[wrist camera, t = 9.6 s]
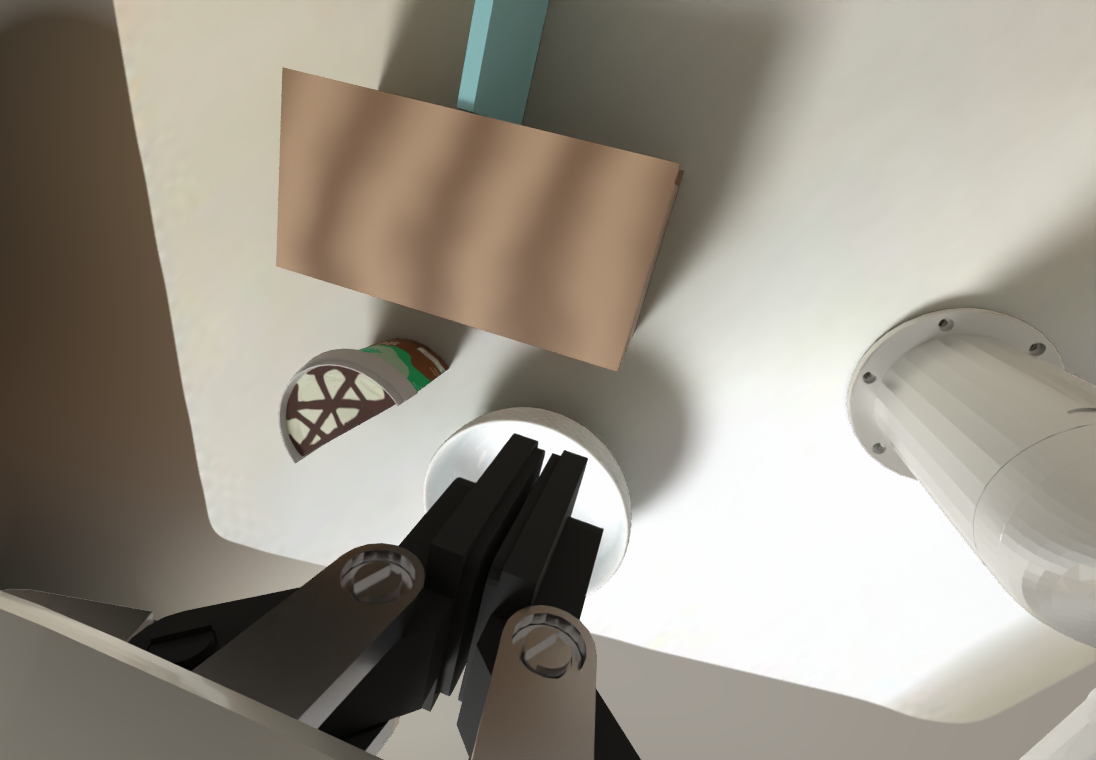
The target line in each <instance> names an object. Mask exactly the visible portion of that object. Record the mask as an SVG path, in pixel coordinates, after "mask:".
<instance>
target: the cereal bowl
mask: <svg viewBox="0 0 1096 760" xmlns="http://www.w3.org/2000/svg"><path fill="white" fill-rule="evenodd" d="M514 433H516V434H519V435H522V436H525V437H528V438H531V439H534V440H537V441H538V448H540V449H543V450H545V456H544V460H543V464H542V468H541V472H540V474H541V473H542V471H543V469H544V467H545V465H546V464H547V462H548V460H549V458H550V456H551V454H552V453H554V454H557V455H560V456H561V454H562V452H563V451H564V450H566V451H569V452H572V453H575V454H578V455H581V456H584V457H587V458H588V461H587V465H586V468H585V472H584V475H583V478H582V482H581V485H580V488H579V492H578V495H577V498H576V502H575V505H574V508H573V512H572V515H571V517H572V518H575V519H578V520H581V521H583V522H586V523H589V524H592V525H595V526H597V527H600V528H603V529H604V531H603V535H602V538H601V542H600V546H599V549H598V553H597V557H596V560H595V564H594V568H593V572H592V575H591V579H590V583H589V586H588V590H587V594H586V596H588V595H590V594H592V593H593V592H595V591H596V590H598V589H599V588H601V587H602V586H603V585H604V584H605V583H606V582H607V581H608V580H609V579H610V578H611V577H612V576H613V575H614V574H615V572H616V571H617V569H618V568H619V566H620V564H621V562H622V560H623V558H624V556H625V553H626V549H627V546H628V543H629V537H630V528H631V519H632V517H631V516H632V513H631V509H632V508H631V503H630V501H631V500H630V495H629V489H628V487H627V484H626V480H625V477H624V475H623V473H622V470H621V469H620V466H619V465H618V463H617V461H616V459H615V458H614V457H613V455H612V454H611V452H610V451H609V450H608V449H607V448H606V446H605V445H604V444H603V443H602V442H601V440H599V439H598V438H597V436H596V435H594V434H593V433H592V432H591V431H589V430H588V429H587V428H585V427H584V426H582V425H580V424H579V423H578V422H576V421H573V420H572V419H570V418H568V417H566V416H563V415H561V414H558V413H556V412H552V411H549V410H545V409H539V408H532V407H514V408H512V407H510V408H507V409H500V410H497V411H493V412H490V413H487V414H485V415H483V416H480V417H478V418H476V419H474V420H473V421H471V422H469V423H468V424H466V425H464V426H463V427H462V428H461V429H459V430H457V431H456V432H455V433H454V434H453V435H452V436H450V437H449V438H448V439H447V440H446V441H445V442H444V443H443V444H442V445H441V446H440V447H439V449H438V450H437V451H436V453H435V454H434V456H433V458H432V459H431V461H430V464H429V466H428V469H427V472H426V476H425V480H424V489H423V498H424V509H425V514H426V513H427V512H428V510H429V509H430V508H431V507H432V506H433V504H434V503H435V502H436V501H437V500H438V499H439V497H440V496H441V495H442V494H443V493H444V491H445V490H446V489H447V488H448V487H449V485H450V484H451V483H452V482H453V481H454V480H455V479H456V478H457V477H461V478H464V479H467V480H469V481H472V482H475V483H476V482H477V481H478V479H479V478H480V477H481V476H482V474H483V473H484V472H485V470H486V469H487V468H488V466H489V465H490V464H491V462H492V461H493V460H494V458H495V457H496V456H497V454H498V453H499V452H500V450H501V449H502V448H503V446H504V445H505V444H506V443H507V441H508V440H509V439H510V437H511V436H512V435H513V434H514Z"/></svg>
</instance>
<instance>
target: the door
mask: <svg viewBox="0 0 1096 760" xmlns="http://www.w3.org/2000/svg"><path fill="white" fill-rule="evenodd" d="M548 3H549V0H475V5H474V10H473V16H472V22H471V27H470V33H469V39H468V44H467V50H466V56H465V62H464V67H463V73H462V79H461V84H460V90H459V96H458V102H457V108H460V109H462V110H465V111H468V112H471V113H473V114H477V115H481V116H485V117H489V118H493V119H498V120H502V121H506V122H510V123H514V124H518V125H522V120H523V116H524V111H525V107H526V102H527V98H528V93H529V89H530V84H531V80H532V75H533V71H534V66H535V62H536V57H537V52H538V48H539V43H540V39H541V34H542V30H543V25H544V21H545V16H546V12H547V7H548Z"/></svg>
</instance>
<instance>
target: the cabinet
mask: <svg viewBox="0 0 1096 760" xmlns="http://www.w3.org/2000/svg"><path fill="white" fill-rule="evenodd" d="M679 168H680V164H679V163H675V162H671V161H667V160H663V159H659V158H655V157H650V156H646V155H642V154H638V153H634V152H630V151H626V150H622V149H617V148H613V147H609V146H605V145H601V144H597V143H593V142H588V141H584V140H580V139H576V138H572V137H568V136H564V135H560V134H555V133H551V132H547V131H543V130H539V129H535V128H531V127H526V126H522V125H518V124H514V123H510V122H506V121H502V120H498V119H493V118H489V117H485V116H481V115H477V114H473V113H469V112H464V111H460V110H456V109H452V108H448V107H444V106H440V105H436V104H431V103H427V102H423V101H419V100H415V99H411V98H407V97H403V96H398V95H394V94H390V93H386V92H382V91H378V90H374V89H369V88H365V87H361V86H357V85H353V84H349V83H345V82H341V81H336V80H332V79H328V78H324V77H320V76H316V75H312V74H307V73H303V72H299V71H295V70H291V69H287V68H283V72H282V103H281V135H280V166H279V197H278V228H277V259H276V266H277V267H281V268H284V269H287V270H290V271H294V272H297V273H300V274H303V275H307V276H310V277H313V278H316V279H319V280H323V281H326V282H329V283H332V284H336V285H339V286H342V287H345V288H348V289H352V290H355V291H358V292H361V293H365V294H368V295H371V296H374V297H377V298H381V299H384V300H387V301H390V302H394V303H397V304H400V305H403V306H407V307H410V308H413V309H416V310H419V311H423V312H426V313H429V314H432V315H436V316H439V317H442V318H445V319H448V320H452V321H455V322H458V323H461V324H465V325H468V326H471V327H474V328H477V329H481V330H484V331H487V332H490V333H494V334H497V335H500V336H503V337H506V338H510V339H513V340H516V341H519V342H523V343H526V344H529V345H532V346H536V347H539V348H542V349H545V350H548V351H552V352H555V353H558V354H561V355H565V356H568V357H571V358H574V359H577V360H581V361H584V362H587V363H590V364H594V365H597V366H600V367H603V368H606V369H610V370H613V371H616V372H617V371H618V368H619V366H620V364H621V361H622V359H623V357H624V355H625V352H626V350H627V348H628V345H629V343H630V341H631V339H632V336H633V334H634V331H635V328H636V325H637V322H638V318H639V315H640V312H641V309H642V305H643V302H644V299H645V296H646V292H647V289H648V286H649V283H650V279H651V276H652V273H653V269H654V266H655V263H656V260H657V256H658V253H659V250H660V247H661V243H662V240H663V237H664V234H665V230H666V227H667V224H668V221H669V217H670V214H671V211H672V208H673V204H674V201H675V198H676V195H677V191H678V188H679V185H680V181H681V178H682V175H683V172H684V171H683V170H679Z"/></svg>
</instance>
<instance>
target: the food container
mask: <svg viewBox="0 0 1096 760" xmlns="http://www.w3.org/2000/svg"><path fill="white" fill-rule="evenodd" d="M448 369H449V368H448V367H447V366H446V364H445V363H444V362H443V360H442V359H441V358H440V357H439V356H438V355H437V354H436V353H434V352H433V351H432V350H431V349H430V348H428V347H427V346H425V345H422V344H420V343H418V342H416V341H414V340H408V339H399V338H396V339H392V340H387V341H384V342H381V343H378V344H375V345H372V346H369V347H366V348H363V349H360V350H354V349H336V350H331V351H327V352H324V353H322V354H320V355H318V356H316V357H314V358H313V359H312V360H310V361H309V362H308V363H307V364H306V365H304V366H303V367H302V368H301V369H300V370H299V371H297V372H296V374H295V375H294V376H293V377H292V379H291V380H290V382H289V384H288V385H287V387H286V389H285V390H284V392H283V395H282V398H281V401H280V406H279V426H280V432H281V436H282V439H283V442H284V445H285V447H286V449H287V451H288V454H289V456H290V457H291V459H292V460H293V462H294V464H295V463H297V462H298V461H300V460H301V459H303V458H304V457H306V456H307V455H309V454H310V453H312V452H313V451H315V450H316V449H318V448H319V447H321V446H322V445H324V444H326V443H328V442H329V441H331V440H333V439H334V438H336V437H338V436H340V435H342V434H343V433H346V432H347V431H349V430H351V429H352V428H354V427H356V426H358V425H360V424H361V423H363V422H365V421H367V420H368V419H370V418H372V417H374V416H376V415H378V414H379V413H381V412H383V411H385V410H386V409H388V408H390V407H392V406H393V405H395V404H397V406H399V405H400V404H402V403H403V402H405V401H406V400H408V399H409V398H411V397H412V396H414V395H415V394H417V393H418V391H419V390H421V389H422V388H423V387H425V386H426V385H427V384H429V383H430V382H431V381H433V380H434V379H435V378H437V377H438V376H440V375H441V374H442V373H444V372H445V371H446V370H448Z"/></svg>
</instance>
